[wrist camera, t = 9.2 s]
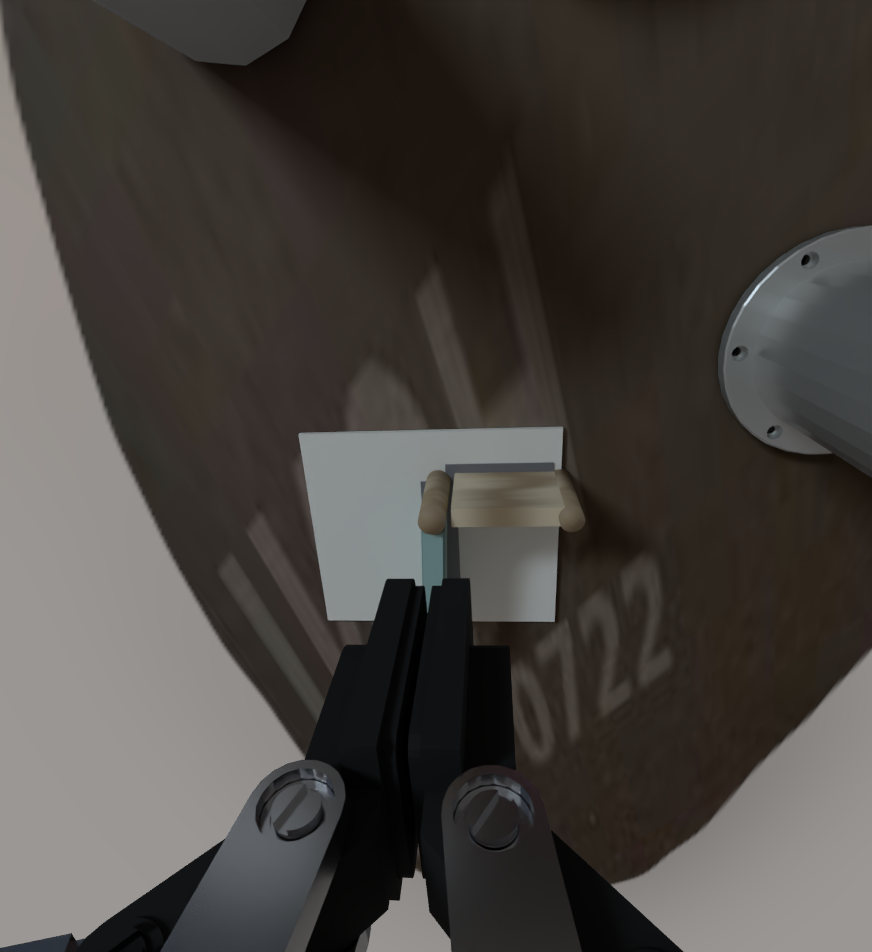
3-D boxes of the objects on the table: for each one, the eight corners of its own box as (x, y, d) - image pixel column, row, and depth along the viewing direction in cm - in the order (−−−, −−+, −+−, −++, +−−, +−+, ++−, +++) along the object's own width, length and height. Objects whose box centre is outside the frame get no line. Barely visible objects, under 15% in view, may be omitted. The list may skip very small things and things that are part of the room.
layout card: (562, 426, 35) (563, 428, 35) (554, 619, 41) (554, 622, 41) (299, 432, 36) (298, 434, 36) (329, 617, 43) (327, 621, 42)
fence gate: (427, 499, 37) (420, 535, 33) (448, 499, 37) (444, 536, 32) (429, 605, 40) (423, 650, 36) (448, 605, 40) (444, 651, 36)
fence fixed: (570, 465, 36) (586, 508, 31) (568, 488, 37) (584, 533, 31) (426, 468, 37) (416, 510, 31) (427, 490, 38) (418, 534, 32)
